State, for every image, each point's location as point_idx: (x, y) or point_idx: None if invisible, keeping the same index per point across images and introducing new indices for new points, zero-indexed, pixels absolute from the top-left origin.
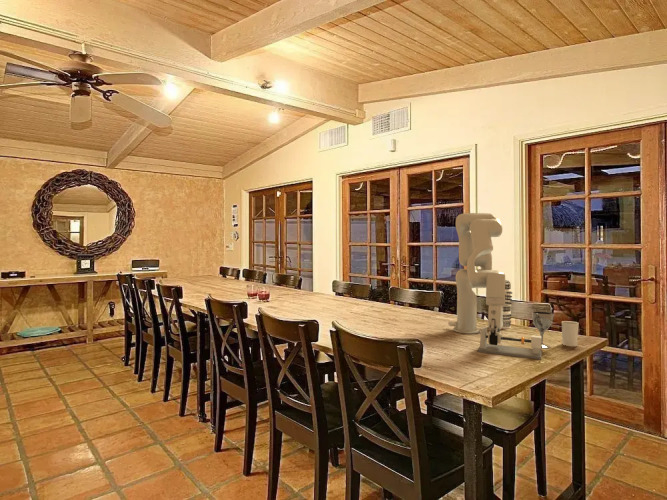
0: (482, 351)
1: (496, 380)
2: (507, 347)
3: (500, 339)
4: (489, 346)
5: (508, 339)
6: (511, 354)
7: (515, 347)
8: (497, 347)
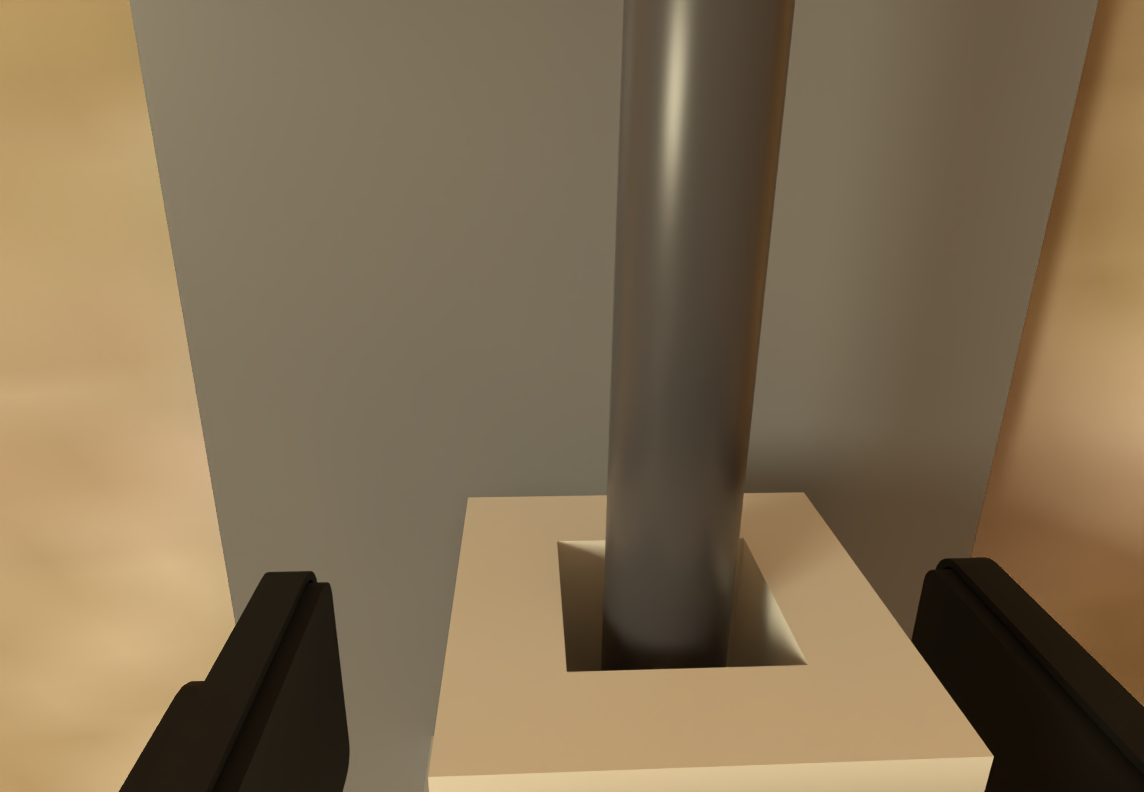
0: None
1: None
2: (365, 261)
3: (848, 578)
4: None
5: (758, 277)
6: (1059, 78)
7: (212, 10)
8: None
